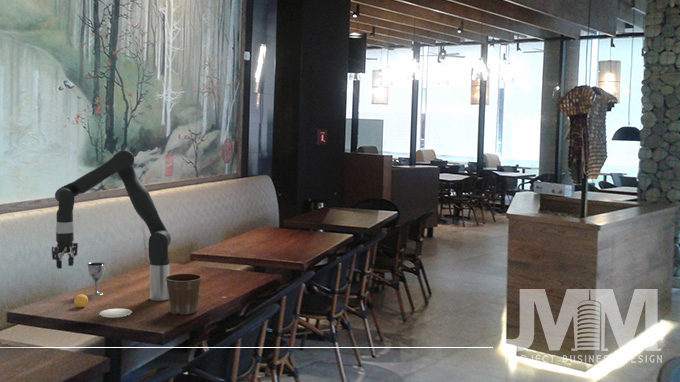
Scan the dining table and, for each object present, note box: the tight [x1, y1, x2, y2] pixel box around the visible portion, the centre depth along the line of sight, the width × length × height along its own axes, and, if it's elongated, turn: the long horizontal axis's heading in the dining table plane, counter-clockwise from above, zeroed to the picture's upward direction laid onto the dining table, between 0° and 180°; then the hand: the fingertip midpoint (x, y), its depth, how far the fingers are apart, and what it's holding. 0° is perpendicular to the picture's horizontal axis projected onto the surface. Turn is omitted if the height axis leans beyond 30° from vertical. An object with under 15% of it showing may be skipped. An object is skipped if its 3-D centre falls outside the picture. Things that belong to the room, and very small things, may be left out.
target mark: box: [99, 308, 133, 318], centre depth 315 cm, size 14×14×1 cm
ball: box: [73, 293, 89, 308], centre depth 323 cm, size 6×6×6 cm
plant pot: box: [165, 273, 203, 316], centre depth 320 cm, size 16×16×16 cm
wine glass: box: [87, 261, 106, 297], centre depth 347 cm, size 8×8×15 cm
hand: (65, 266), depth 325 cm, fingers open, 6 cm apart
